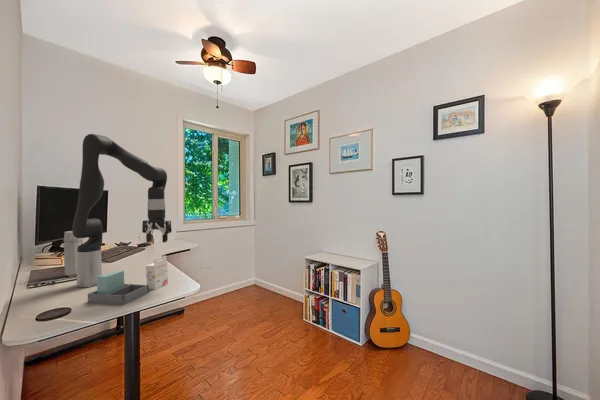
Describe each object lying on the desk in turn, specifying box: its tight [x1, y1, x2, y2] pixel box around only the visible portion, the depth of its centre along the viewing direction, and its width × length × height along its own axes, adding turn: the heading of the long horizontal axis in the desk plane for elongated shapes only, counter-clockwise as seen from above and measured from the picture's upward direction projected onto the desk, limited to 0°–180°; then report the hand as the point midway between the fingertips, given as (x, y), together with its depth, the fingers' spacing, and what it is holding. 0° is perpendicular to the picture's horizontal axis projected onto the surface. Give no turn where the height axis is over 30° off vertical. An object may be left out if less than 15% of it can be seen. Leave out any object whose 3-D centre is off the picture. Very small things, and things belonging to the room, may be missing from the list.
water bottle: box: [63, 230, 84, 276], centre depth 146 cm, size 9×8×25 cm
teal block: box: [96, 270, 125, 294], centre depth 111 cm, size 5×9×10 cm, turn 169°
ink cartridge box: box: [145, 255, 169, 290], centre depth 124 cm, size 9×5×15 cm, turn 168°
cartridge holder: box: [87, 283, 150, 306], centre depth 111 cm, size 17×13×4 cm
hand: (157, 241), depth 124 cm, fingers open, 8 cm apart
